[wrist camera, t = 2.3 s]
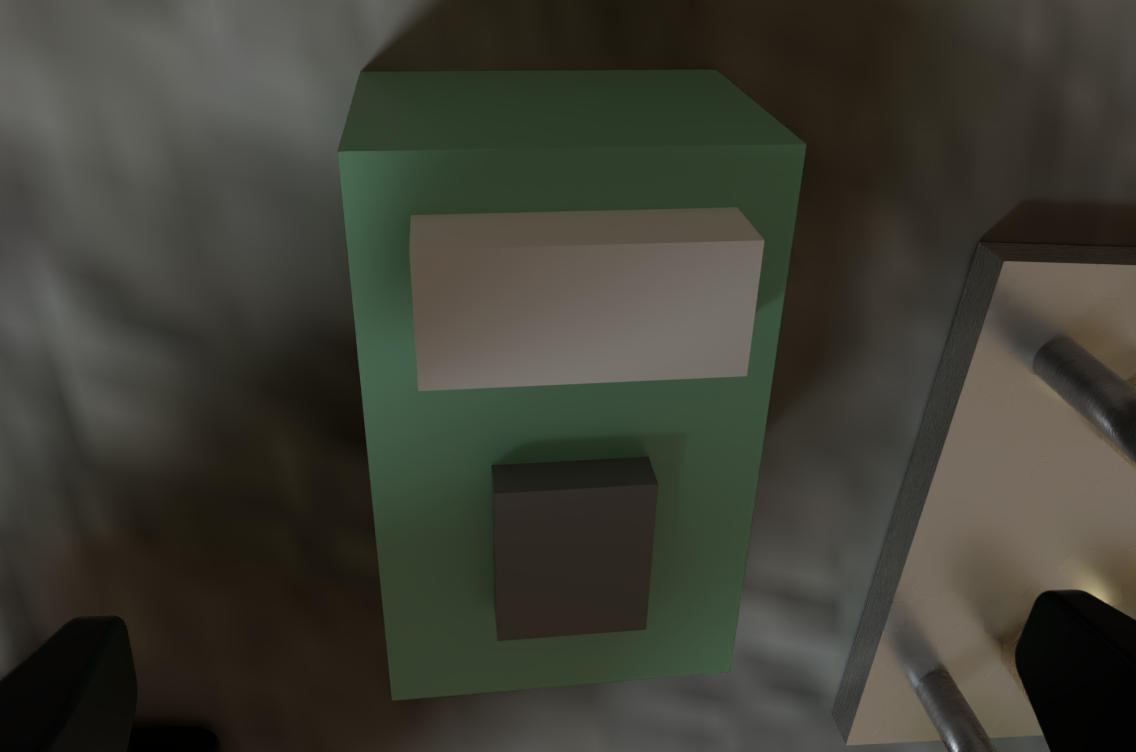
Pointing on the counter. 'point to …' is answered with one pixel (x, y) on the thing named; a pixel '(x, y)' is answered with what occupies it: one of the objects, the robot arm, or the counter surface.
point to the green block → (563, 365)
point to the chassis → (1004, 497)
